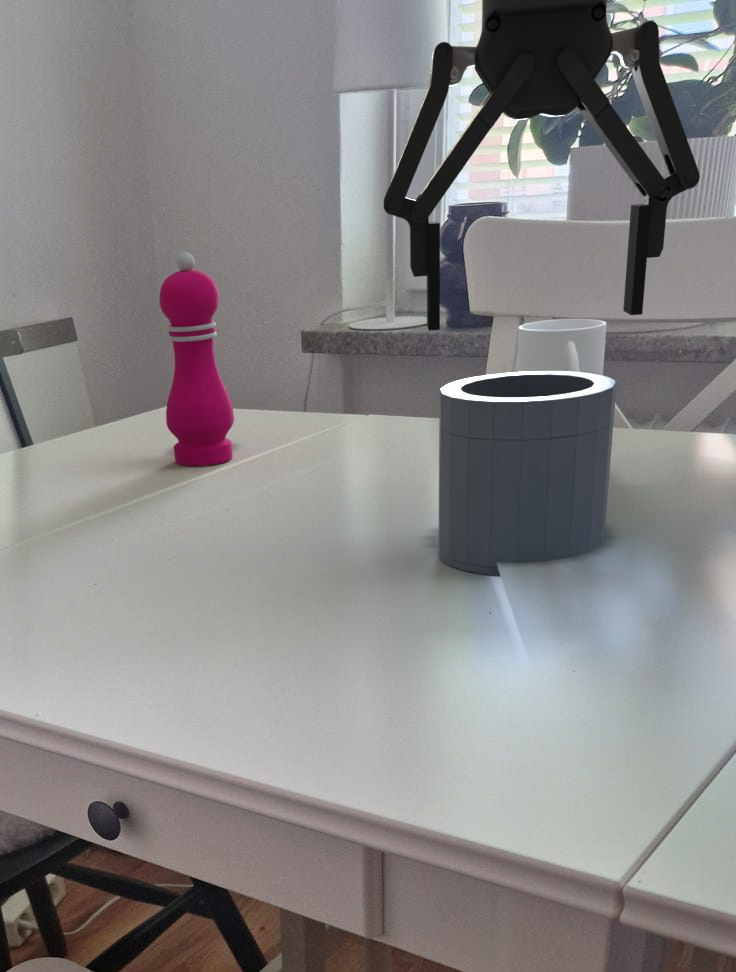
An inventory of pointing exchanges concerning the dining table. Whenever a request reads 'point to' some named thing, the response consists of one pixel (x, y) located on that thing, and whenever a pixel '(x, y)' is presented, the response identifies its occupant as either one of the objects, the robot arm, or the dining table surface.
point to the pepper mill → (195, 369)
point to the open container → (523, 467)
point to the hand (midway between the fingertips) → (532, 321)
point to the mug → (562, 346)
